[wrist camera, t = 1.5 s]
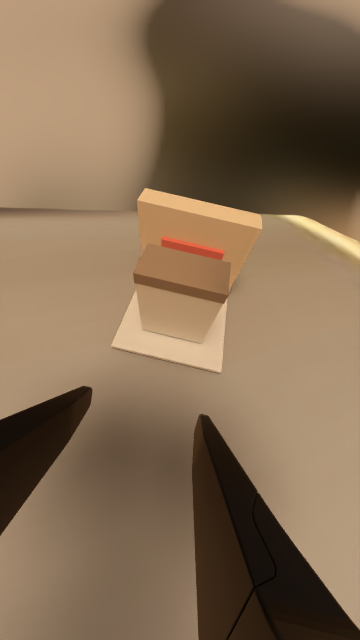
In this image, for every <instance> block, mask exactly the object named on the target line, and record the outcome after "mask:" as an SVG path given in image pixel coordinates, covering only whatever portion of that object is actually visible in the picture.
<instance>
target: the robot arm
mask: <svg viewBox="0 0 360 640" xmlns="http://www.w3.org/2000/svg"><path fill="white" fill-rule="evenodd" d="M91 397H92V388H91V387H87V386H82V387H79V388H77V389H74V390H72V391H69V392H67V393H65V394H62V395H60V396H57V397H55V398H52V399H50V400H48V401H45V402H43V403H40V404H38V405H35V406H33V407H30V408H28V409H26V410H23V411H21V412H18V413H16V414H13V415H11V416H8V417H6V418H4V419H1V420H0V535H1V534H2V533H3V531H4V530H5V528H6V527H7V526H8V524H9V523H10V522H11V520H12V519H13V518H14V516H15V515H16V513H17V512H18V511H19V509H20V508H21V507H22V505H23V504H24V502H25V501H26V500H27V498H28V497H29V496H30V494H31V493H32V491H33V490H34V489H35V487H36V486H37V485H38V483H39V482H40V480H41V479H42V478H43V476H44V475H45V474H46V472H47V471H48V469H49V468H50V467H51V465H52V464H53V463H54V461H55V460H56V458H57V457H58V456H59V454H60V453H61V452H62V450H63V449H64V447H65V446H66V445H67V443H68V442H69V440H70V439H71V437H72V435H73V434H74V432H75V430H76V429H77V427H78V425H79V424H80V422H81V420H82V419H83V417H84V415H85V414H86V412H87V410H88V409H89V407H90V404H91ZM192 484H193V510H194V535H195V561H196V586H197V612H198V637H199V640H360V630H359V628H358V627H357V626H356V625H355V624H354V623H353V621H352V620H351V619H350V618H349V616H348V615H347V614H346V613H345V611H344V610H343V609H342V607H341V606H340V605H339V603H338V602H337V601H336V599H335V598H334V597H333V595H332V594H331V593H330V591H329V590H328V589H327V587H326V586H325V585H324V583H323V582H322V581H321V579H320V578H319V577H318V575H317V574H316V573H315V571H314V570H313V569H312V567H311V566H310V565H309V563H308V562H307V561H306V559H305V558H304V557H303V555H302V554H301V553H300V551H299V550H298V549H297V547H296V546H295V544H294V543H293V542H292V540H291V539H290V538H289V536H288V535H287V533H286V532H285V531H284V529H283V528H282V527H281V525H280V524H279V522H278V521H277V519H276V518H275V516H274V515H273V513H272V512H271V511H270V509H269V508H268V506H267V505H266V503H265V502H264V500H263V499H262V497H261V495H260V494H259V493H257V490H256V488H255V486H254V485H253V483H252V482H251V480H250V479H249V477H248V476H247V474H246V473H245V471H244V470H243V468H242V467H241V465H240V463H239V462H238V460H237V459H236V457H235V456H234V454H233V453H232V451H231V450H230V448H229V447H228V445H227V444H226V442H225V441H224V439H223V437H222V436H221V434H220V433H219V431H218V430H217V428H216V427H215V425H214V424H213V422H212V421H211V419H210V418H209V416H207V415H203V414H200V415H199V417H198V420H197V423H196V427H195V431H194V446H193V463H192Z"/></svg>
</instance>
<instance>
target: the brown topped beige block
mask: <svg viewBox="0 0 360 640" xmlns="http://www.w3.org/2000/svg"><path fill="white" fill-rule="evenodd" d="M230 271H231V263H230V262H226V261H222V260H217V259H213V258H209V257H205V256H200V255H196V254H192V253H188V252H183V251H179V250H175V249H170V248H166V247H162V246H158V245H153V244H149V243H148V244H147V246H146V248H145V250H144V252H143V254H142V256H141V258H140V260H139V262H138V264H137V266H136V268H135V270H134V272H133V276H134V283H135V284H136V291H137V298H138V305H139V312H140V319H141V326H142V329H143V330H147V331H151V332H155V333H160V334H164V335H168V336H172V337H176V338H181V339H185V340H189V341H193V342H197V343H202V342H203V340H204V338H205V336H206V335H207V333H208V331H209V329H210V327H211V325H212V323H213V322H214V320H215V318H216V316H217V314H218V312H219V311H220V309H221V307H222V305H223V304H224V303H225V301H226V299H227V298H228V296H229V284H230Z"/></svg>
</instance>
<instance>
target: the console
mask: <svg viewBox="0 0 360 640" xmlns="http://www.w3.org/2000/svg"><path fill="white" fill-rule="evenodd" d="M137 205H138V217H139V229H140V241H141V253H142V254H143V252H144V250H145V248H146V246H147V244H148V243H149V244H153V245H158V246H162V247H166V248H170V249H175V250H179V251H183V252H188V253H192V254H196V255H200V256H205V257H209V258H213V259H217V260H222V261H226V262H230V263H231V271H230V284H229V290H230V288H231V286H232V285H233V283H234V281H235V279H236V277H237V275H238V273H239V271H240V270H241V268H242V266H243V264H244V262H245V260H246V258H247V257H248V255H249V253H250V251H251V249H252V247H253V245H254V243H255V242H256V240H257V238H258V236H259V234H260V232H261V230H262V221H261V215H259V214H254V213H250V212H246V211H242V210H237V209H233V208H229V207H225V206H220V205H216V204H211V203H207V202H203V201H199V200H194V199H190V198H185V197H181V196H177V195H173V194H168V193H164V192H160V191H155V190H150V189H147V188H145V190H144V191H143V192H142V194H141V195H140V197H139V198H138V200H137ZM226 307H227V299H226V301H225V303H224V304H223V305H222V307H221V309H220V311H219V312H218V314H217V316H216V318H215V320H214V322H213V323H212V325H211V327H210V329H209V331H208V333H207V335H206V336H205V338H204V340H203V342H202V343H197V342H193V341H189V340H185V339H181V338H176V337H172V336H168V335H164V334H160V333H155V332H151V331H147V330H143V329H142V326H141V319H140V312H139V305H138V298H137V291H135V294H134V296H133V298H132V300H131V303H130V305H129V307H128V309H127V311H126V314H125V316H124V318H123V320H122V323H121V325H120V327H119V329H118V332H117V334H116V336H115V338H114V341H113V343H112V345H111V347H112V348H115V349H119V350H124V351H128V352H132V353H136V354H140V355H144V356H149V357H153V358H157V359H161V360H165V361H170V362H174V363H178V364H182V365H186V366H190V367H195V368H199V369H203V370H207V371H211V372H216V373H221V370H222V357H223V344H224V332H225V319H226Z"/></svg>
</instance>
